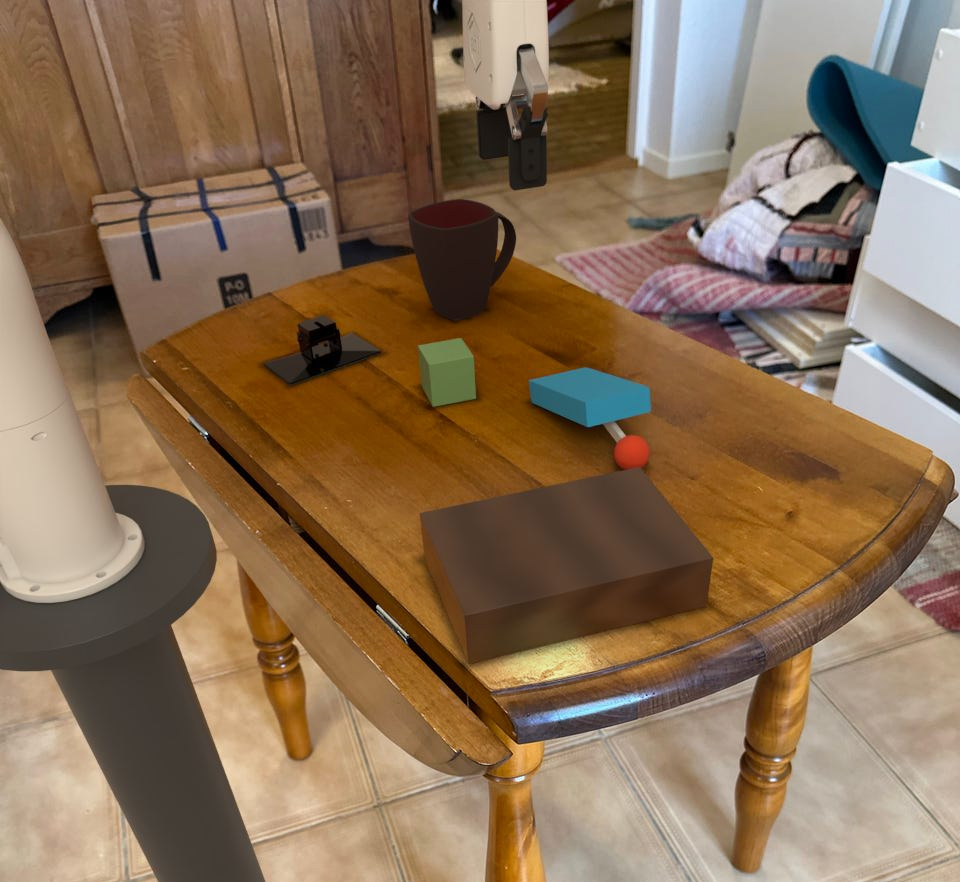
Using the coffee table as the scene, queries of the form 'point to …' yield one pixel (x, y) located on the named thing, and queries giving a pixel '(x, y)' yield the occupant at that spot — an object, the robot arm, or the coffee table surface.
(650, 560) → the block
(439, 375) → the green toy block
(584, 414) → the lever
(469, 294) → the cup
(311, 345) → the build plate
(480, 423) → the coffee table surface
